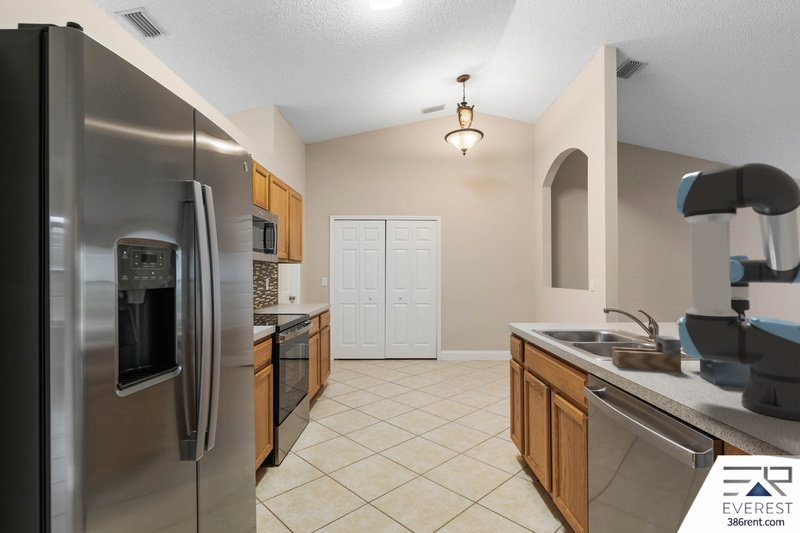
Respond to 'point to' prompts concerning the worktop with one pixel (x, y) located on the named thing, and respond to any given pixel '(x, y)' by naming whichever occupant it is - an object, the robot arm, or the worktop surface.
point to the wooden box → (651, 355)
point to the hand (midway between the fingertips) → (736, 364)
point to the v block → (724, 373)
